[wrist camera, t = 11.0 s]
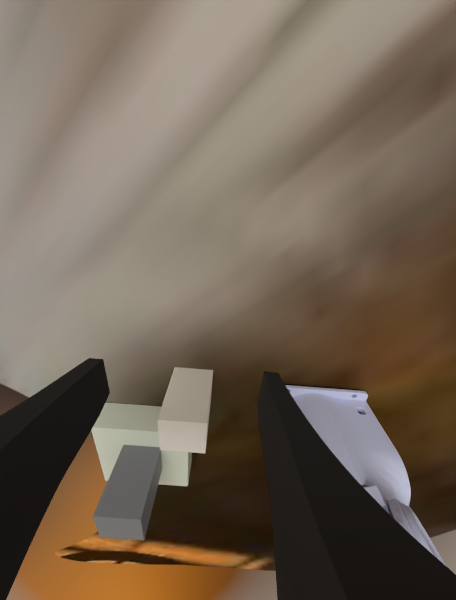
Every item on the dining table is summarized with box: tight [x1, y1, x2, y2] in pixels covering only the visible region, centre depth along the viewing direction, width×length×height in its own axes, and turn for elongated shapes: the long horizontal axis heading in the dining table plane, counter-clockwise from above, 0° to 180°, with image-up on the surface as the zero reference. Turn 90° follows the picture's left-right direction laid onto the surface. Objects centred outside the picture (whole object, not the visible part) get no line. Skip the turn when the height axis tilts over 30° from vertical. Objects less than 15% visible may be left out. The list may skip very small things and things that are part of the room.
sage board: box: [91, 402, 192, 486], centre depth 27 cm, size 10×10×3 cm
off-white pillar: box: [157, 367, 213, 453], centre depth 22 cm, size 4×4×6 cm
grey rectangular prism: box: [93, 445, 162, 540], centre depth 23 cm, size 4×4×6 cm
